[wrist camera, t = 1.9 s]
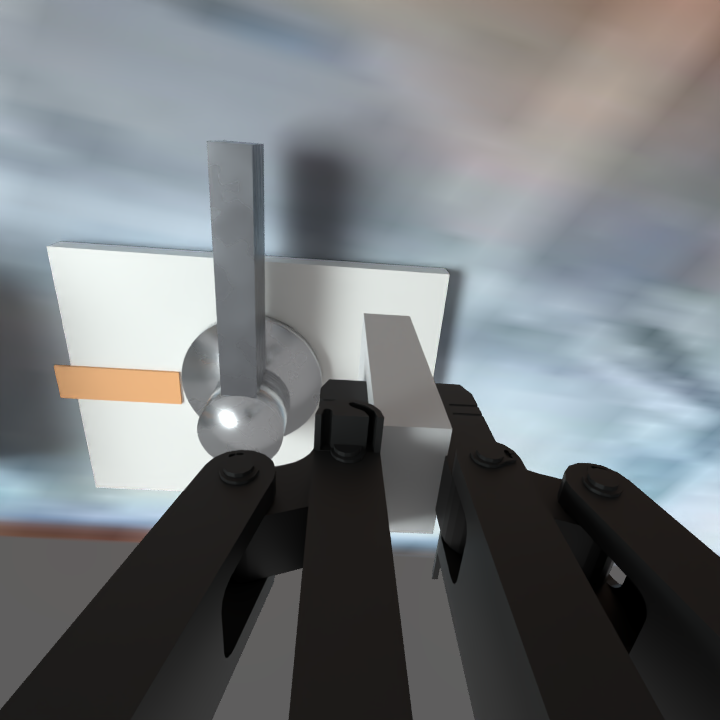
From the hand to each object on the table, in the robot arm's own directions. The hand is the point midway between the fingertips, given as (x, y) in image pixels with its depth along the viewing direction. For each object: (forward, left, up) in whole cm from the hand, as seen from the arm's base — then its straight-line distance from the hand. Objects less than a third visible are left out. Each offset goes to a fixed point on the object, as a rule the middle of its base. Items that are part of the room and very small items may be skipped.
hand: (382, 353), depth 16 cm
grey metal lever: (+7, +4, -14) cm, 16 cm away
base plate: (+7, +10, -16) cm, 20 cm away
